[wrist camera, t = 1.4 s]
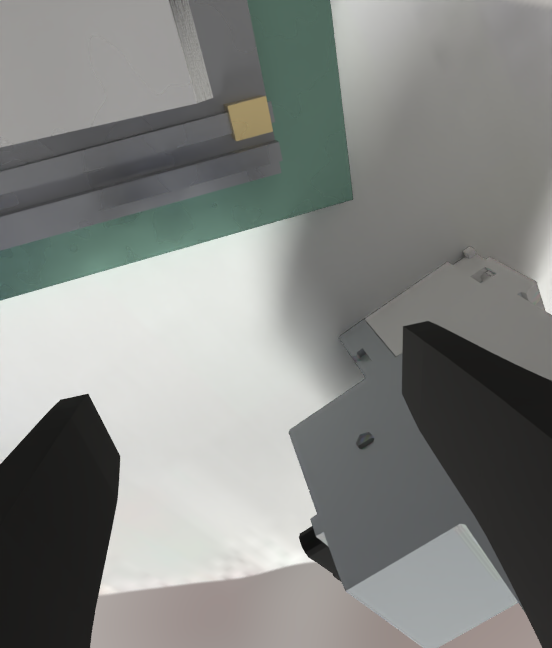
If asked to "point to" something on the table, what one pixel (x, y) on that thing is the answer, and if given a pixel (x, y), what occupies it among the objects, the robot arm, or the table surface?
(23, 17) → the grey flat bar
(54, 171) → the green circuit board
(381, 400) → the circuit breaker
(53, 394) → the table surface
